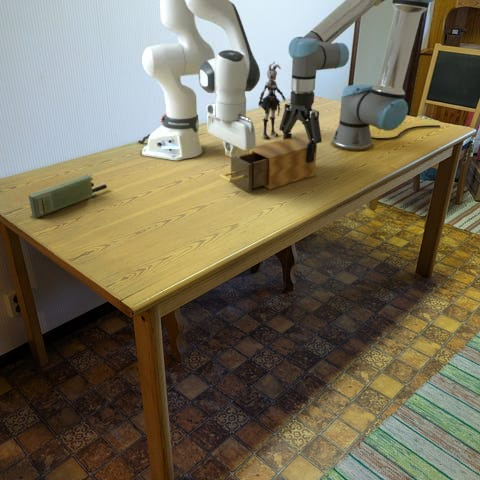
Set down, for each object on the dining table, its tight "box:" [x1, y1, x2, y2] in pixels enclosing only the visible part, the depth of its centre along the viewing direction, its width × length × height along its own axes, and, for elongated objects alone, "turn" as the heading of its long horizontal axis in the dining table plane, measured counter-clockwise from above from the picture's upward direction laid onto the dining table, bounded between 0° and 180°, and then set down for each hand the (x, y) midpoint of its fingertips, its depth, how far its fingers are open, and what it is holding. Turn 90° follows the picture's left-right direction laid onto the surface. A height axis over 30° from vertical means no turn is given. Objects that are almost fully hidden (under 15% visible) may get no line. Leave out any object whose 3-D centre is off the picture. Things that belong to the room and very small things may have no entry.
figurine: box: [258, 61, 287, 140], centre depth 201 cm, size 15×6×30 cm, turn 132°
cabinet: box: [249, 136, 318, 190], centre depth 168 cm, size 20×11×11 cm, turn 127°
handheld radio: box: [28, 173, 108, 219], centre depth 150 cm, size 7×3×25 cm
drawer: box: [219, 152, 269, 193], centre depth 162 cm, size 24×9×9 cm, turn 127°
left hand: (230, 155), depth 154 cm, fingers closed
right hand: (298, 157), depth 171 cm, fingers closed on cabinet, 11 cm apart
